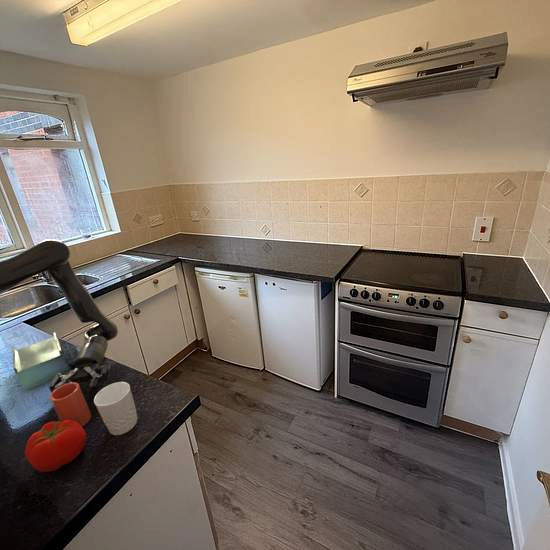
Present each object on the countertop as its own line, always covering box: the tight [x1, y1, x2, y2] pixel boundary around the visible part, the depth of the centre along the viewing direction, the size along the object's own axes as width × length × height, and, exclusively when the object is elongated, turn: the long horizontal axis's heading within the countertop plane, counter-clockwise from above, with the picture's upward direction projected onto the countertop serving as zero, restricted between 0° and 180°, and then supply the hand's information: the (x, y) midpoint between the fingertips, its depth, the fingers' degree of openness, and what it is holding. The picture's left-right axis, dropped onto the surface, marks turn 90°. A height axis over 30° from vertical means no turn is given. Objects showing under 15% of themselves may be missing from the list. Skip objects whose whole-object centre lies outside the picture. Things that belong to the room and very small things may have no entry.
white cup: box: [93, 381, 139, 436], centre depth 74 cm, size 8×8×10 cm
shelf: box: [12, 332, 71, 392], centre depth 99 cm, size 16×12×8 cm
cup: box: [49, 382, 92, 428], centre depth 76 cm, size 6×6×10 cm
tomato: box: [24, 420, 87, 473], centre depth 66 cm, size 11×11×9 cm
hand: (73, 395), depth 78 cm, fingers open, 8 cm apart
